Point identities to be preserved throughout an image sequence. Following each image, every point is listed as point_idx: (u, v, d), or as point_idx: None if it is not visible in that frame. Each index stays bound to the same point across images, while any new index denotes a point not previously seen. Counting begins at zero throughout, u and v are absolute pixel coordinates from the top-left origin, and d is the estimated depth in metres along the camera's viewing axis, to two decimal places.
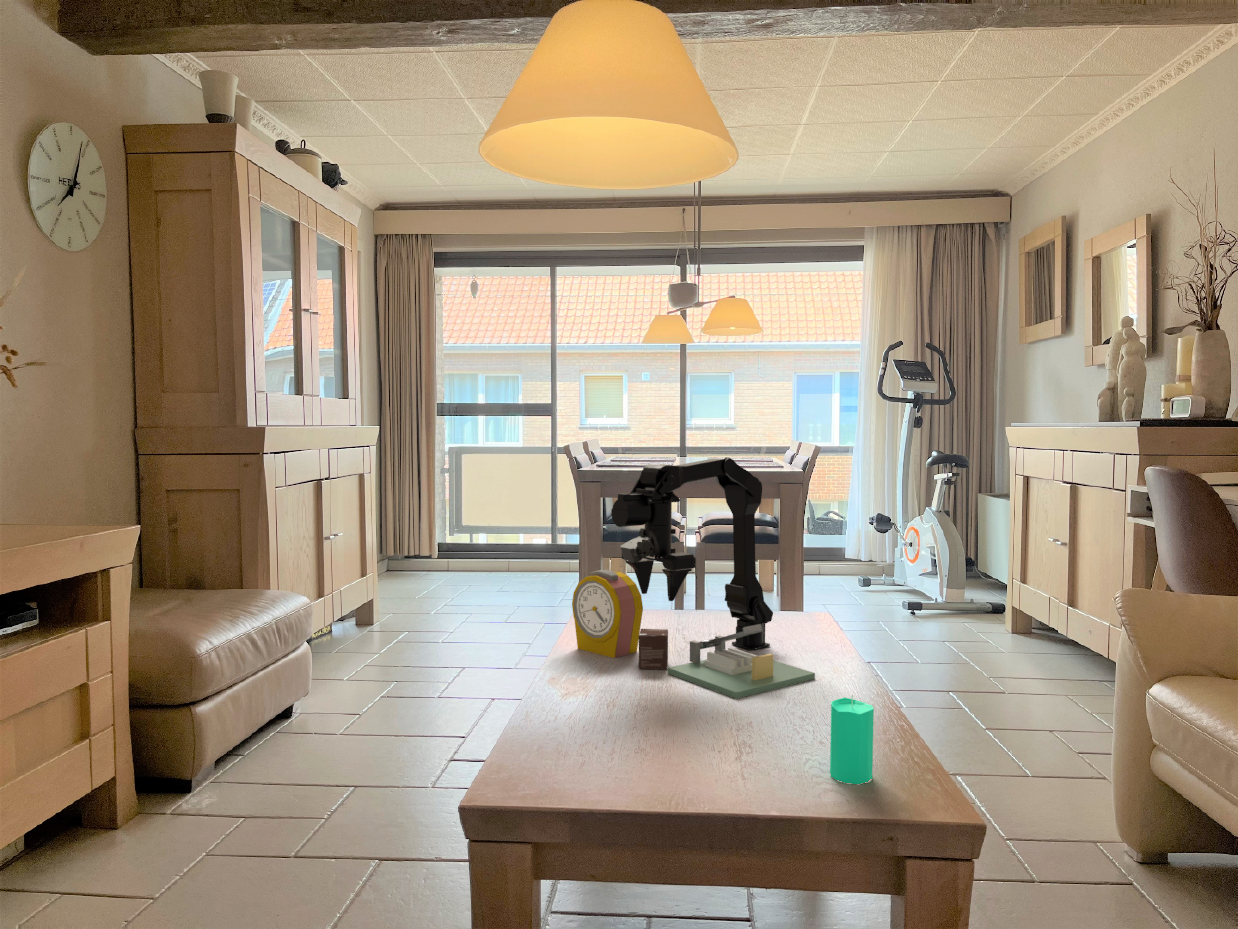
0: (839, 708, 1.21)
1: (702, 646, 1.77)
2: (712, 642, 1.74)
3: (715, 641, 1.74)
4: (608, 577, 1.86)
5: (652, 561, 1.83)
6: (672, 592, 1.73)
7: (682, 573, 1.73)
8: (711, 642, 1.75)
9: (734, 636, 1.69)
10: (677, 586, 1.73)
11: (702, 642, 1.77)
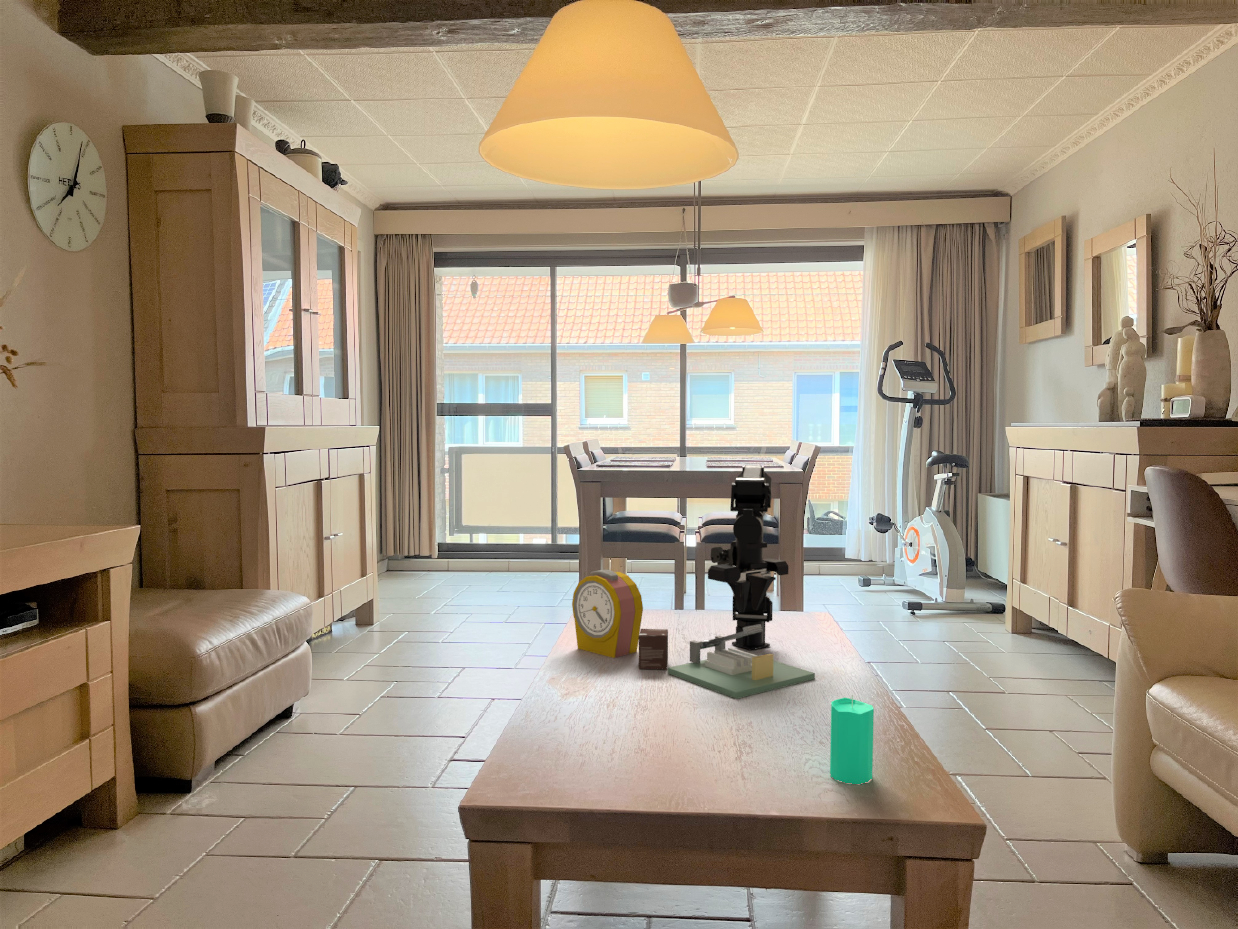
0: (839, 708, 1.21)
1: (702, 646, 1.77)
2: (712, 642, 1.74)
3: (715, 641, 1.74)
4: (608, 577, 1.86)
5: (766, 579, 1.76)
6: (738, 602, 1.76)
7: (740, 586, 1.73)
8: (711, 642, 1.75)
9: (734, 636, 1.69)
10: (741, 598, 1.74)
11: (702, 642, 1.77)
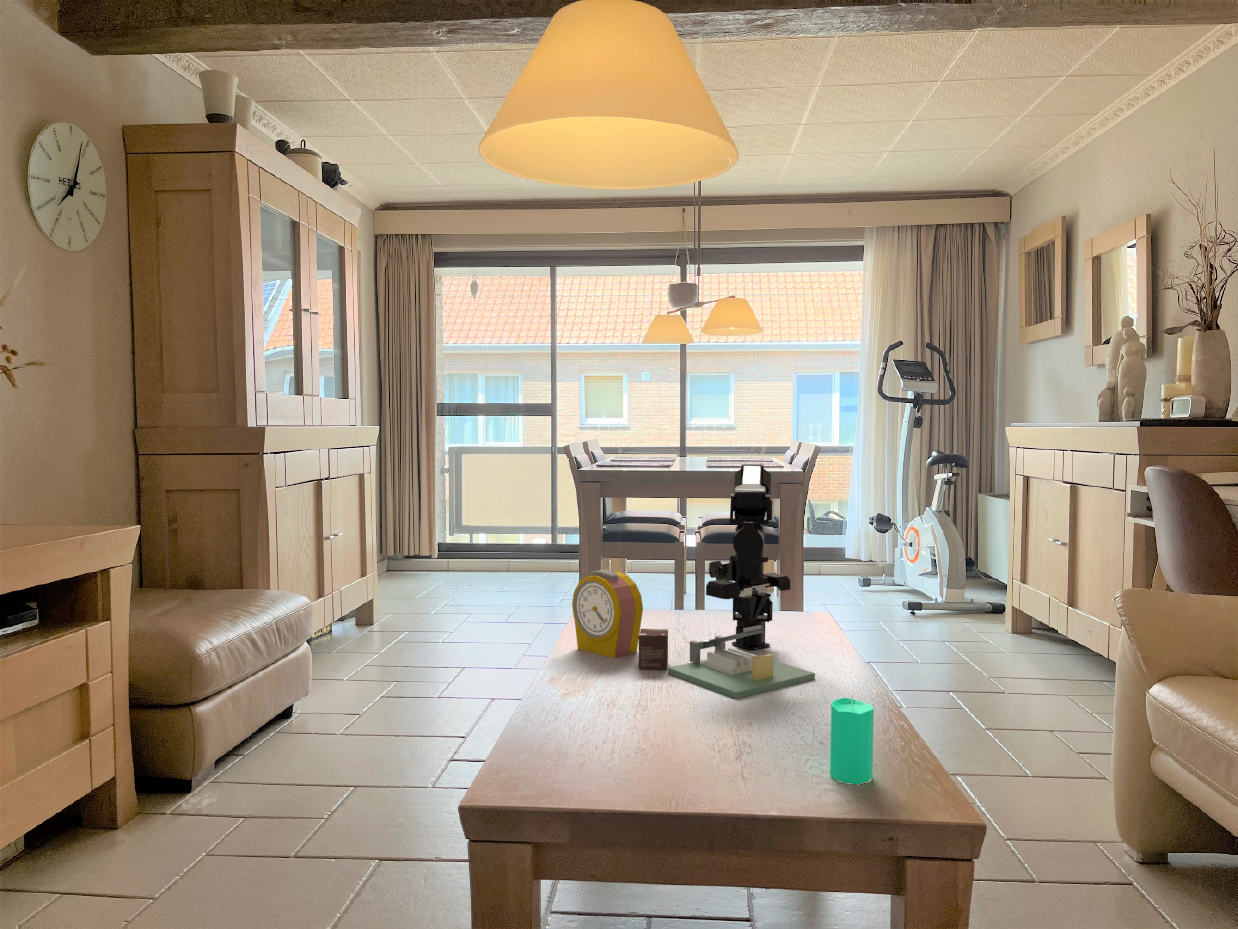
0: (839, 708, 1.21)
1: (702, 646, 1.77)
2: (712, 642, 1.74)
3: (715, 641, 1.74)
4: (608, 577, 1.86)
5: (760, 596, 1.67)
6: (744, 618, 1.68)
7: (746, 601, 1.66)
8: (711, 642, 1.75)
9: (734, 637, 1.69)
10: (747, 614, 1.67)
11: (702, 642, 1.77)
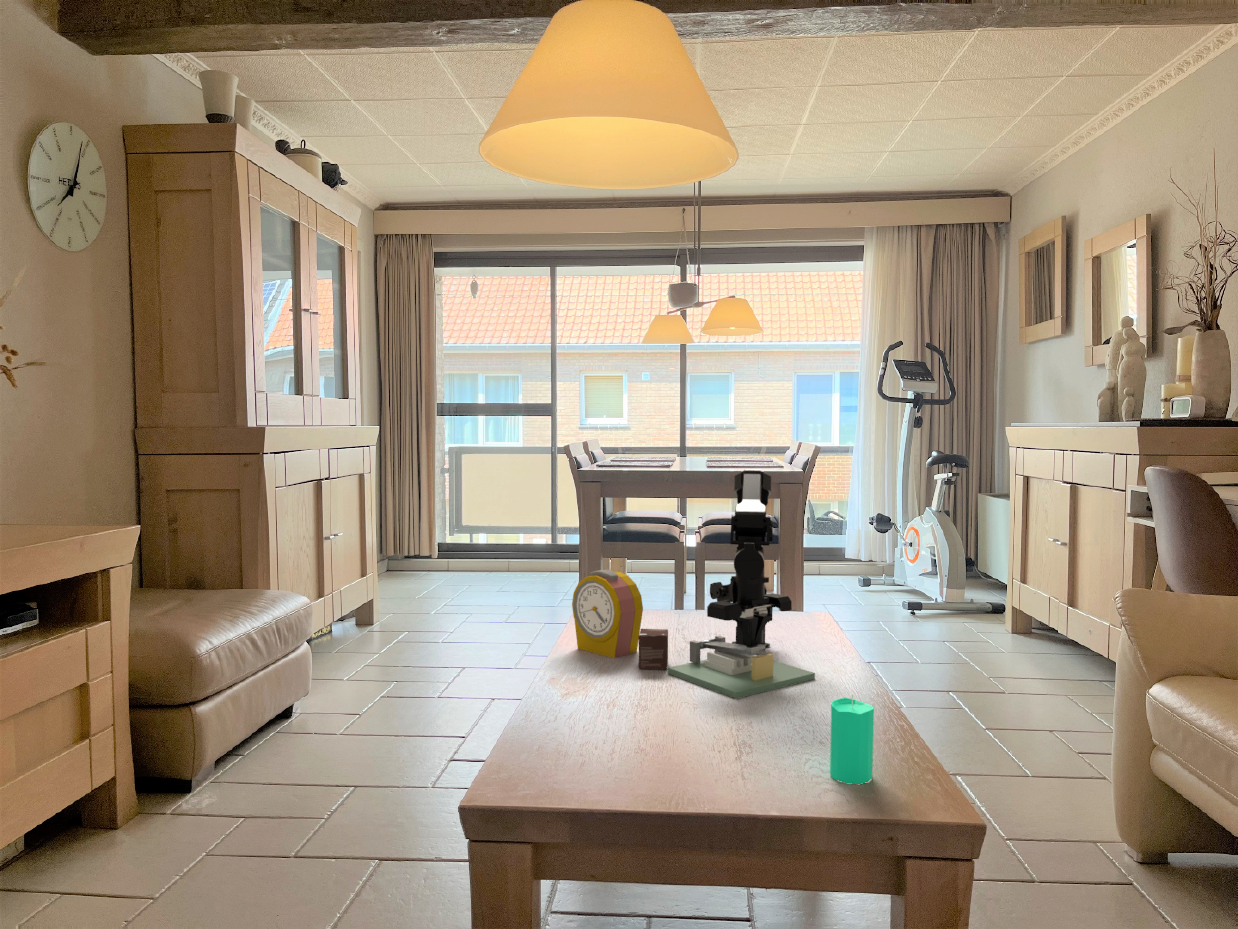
0: (839, 708, 1.21)
1: (702, 647, 1.77)
2: (713, 647, 1.74)
3: (716, 648, 1.73)
4: (608, 577, 1.86)
5: (762, 617, 1.67)
6: (745, 640, 1.68)
7: (748, 622, 1.66)
8: (712, 647, 1.75)
9: (736, 651, 1.69)
10: (749, 635, 1.67)
11: (703, 643, 1.77)
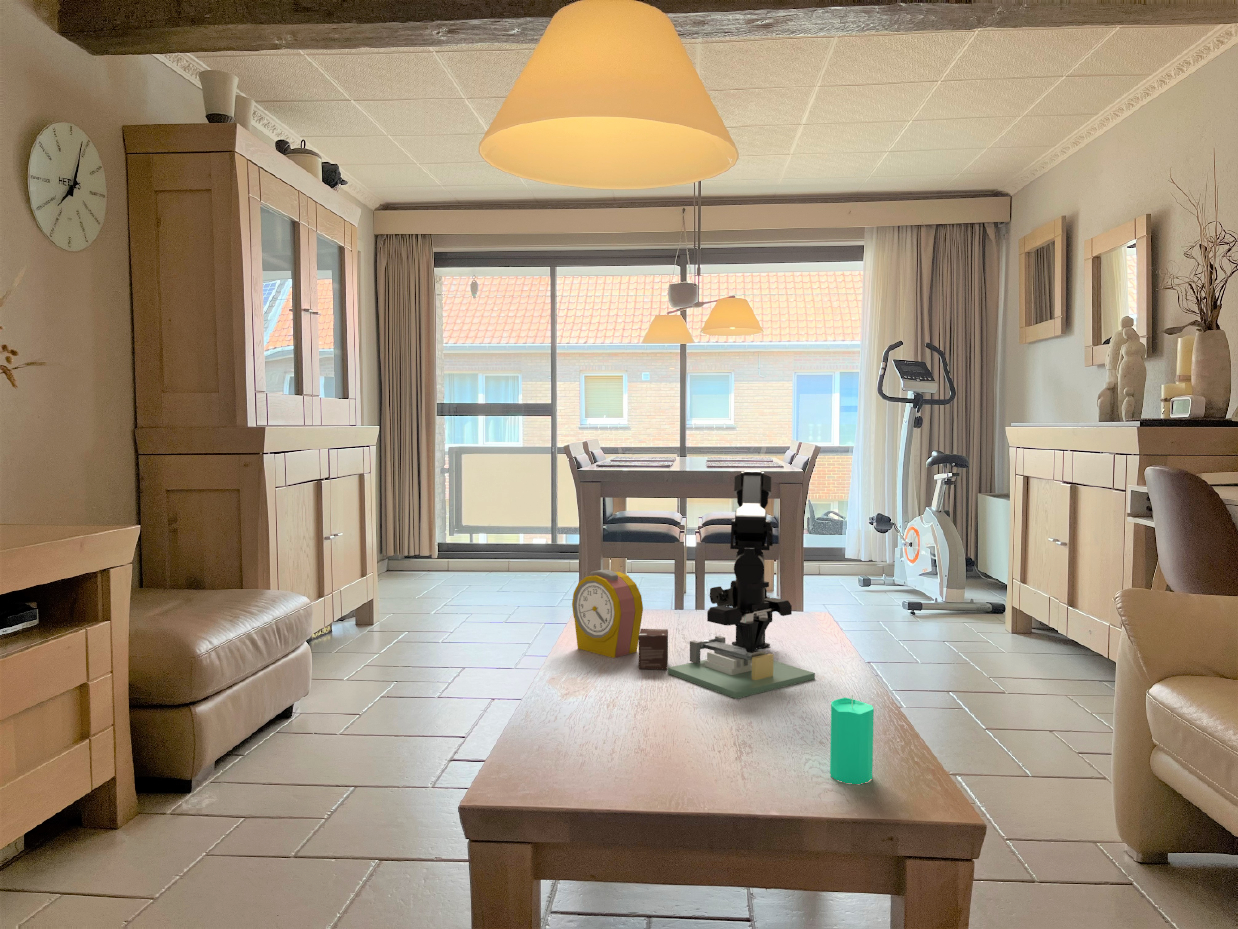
0: (839, 708, 1.21)
1: (702, 647, 1.77)
2: (713, 649, 1.74)
3: (716, 649, 1.73)
4: (608, 577, 1.86)
5: (762, 622, 1.67)
6: (746, 644, 1.68)
7: (748, 627, 1.66)
8: (712, 648, 1.75)
9: (736, 655, 1.69)
10: (749, 640, 1.67)
11: (703, 643, 1.77)
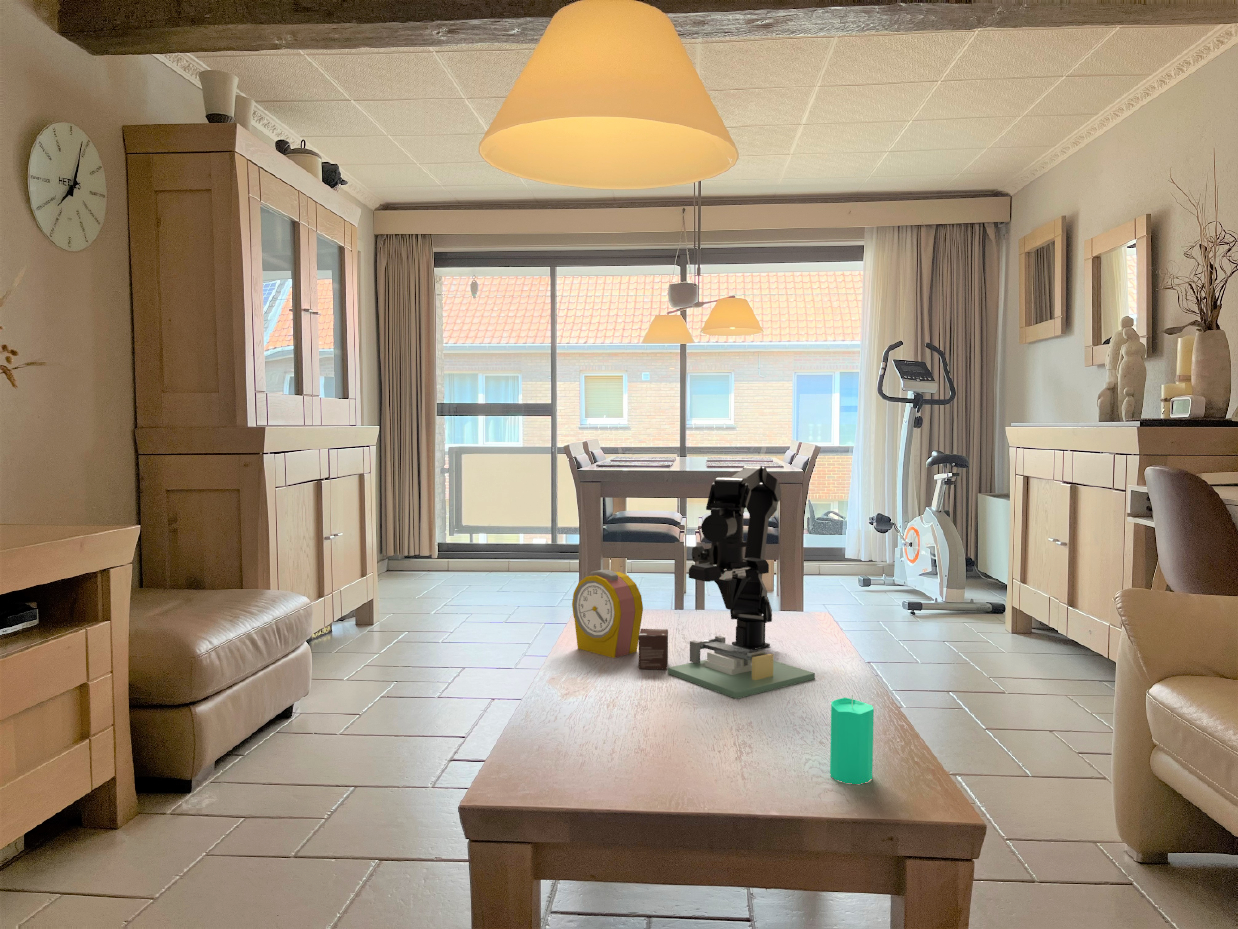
0: (839, 708, 1.21)
1: (702, 647, 1.77)
2: (713, 649, 1.74)
3: (716, 649, 1.73)
4: (608, 577, 1.86)
5: (740, 579, 1.77)
6: (725, 600, 1.78)
7: (727, 584, 1.76)
8: (712, 648, 1.75)
9: (736, 655, 1.69)
10: (728, 596, 1.77)
11: (703, 643, 1.77)
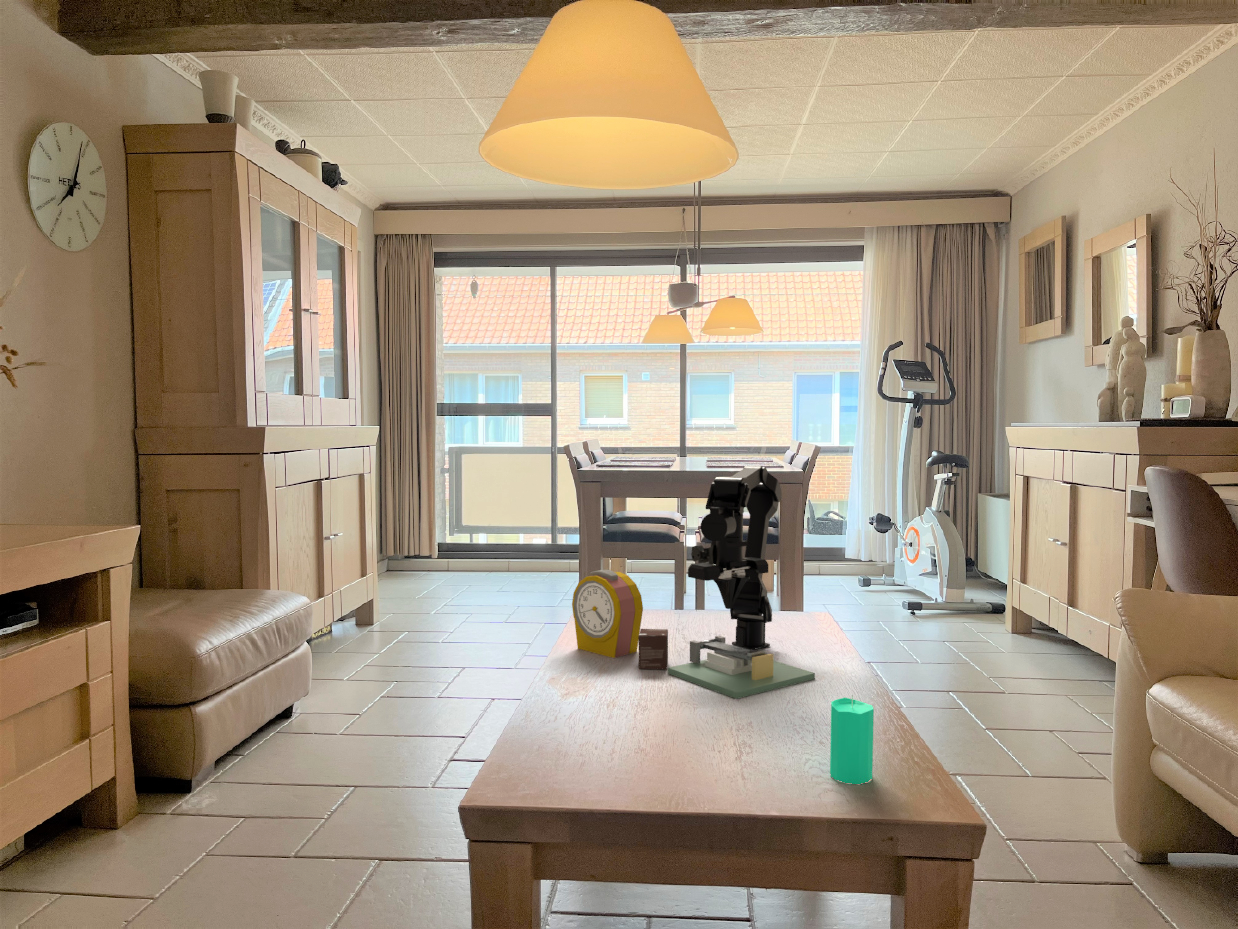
0: (839, 708, 1.21)
1: (702, 647, 1.77)
2: (713, 649, 1.74)
3: (716, 649, 1.73)
4: (608, 577, 1.86)
5: (739, 578, 1.77)
6: (724, 599, 1.79)
7: (726, 583, 1.76)
8: (712, 648, 1.75)
9: (736, 655, 1.69)
10: (727, 595, 1.77)
11: (703, 643, 1.77)
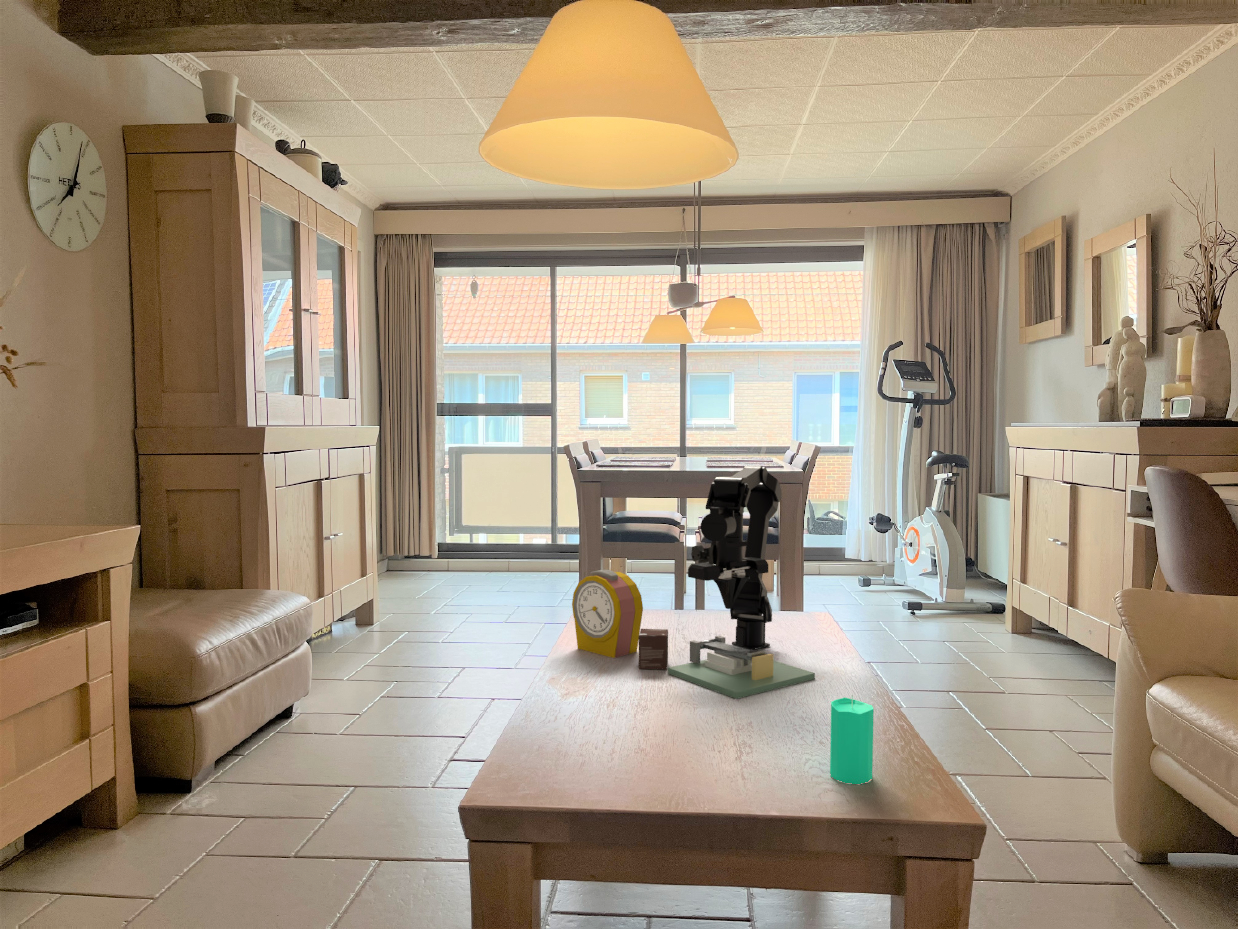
0: (839, 708, 1.21)
1: (702, 647, 1.77)
2: (713, 649, 1.74)
3: (716, 649, 1.73)
4: (608, 577, 1.86)
5: (739, 578, 1.77)
6: (724, 599, 1.79)
7: (726, 583, 1.76)
8: (712, 648, 1.75)
9: (736, 655, 1.69)
10: (727, 595, 1.77)
11: (703, 643, 1.77)
